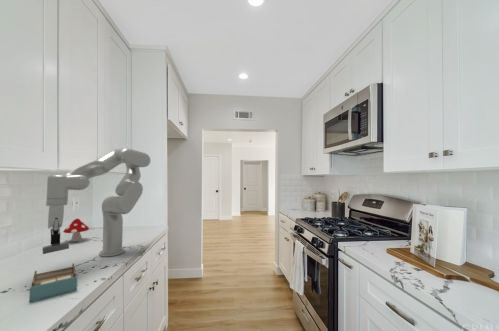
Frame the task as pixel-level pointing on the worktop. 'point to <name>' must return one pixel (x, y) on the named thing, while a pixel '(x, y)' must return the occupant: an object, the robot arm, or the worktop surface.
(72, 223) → the decorative mushroom
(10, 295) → the worktop surface
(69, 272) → the walnut channel
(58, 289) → the teal tray
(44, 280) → the oak block
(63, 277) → the oak block
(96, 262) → the worktop surface
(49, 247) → the grey stepped block
